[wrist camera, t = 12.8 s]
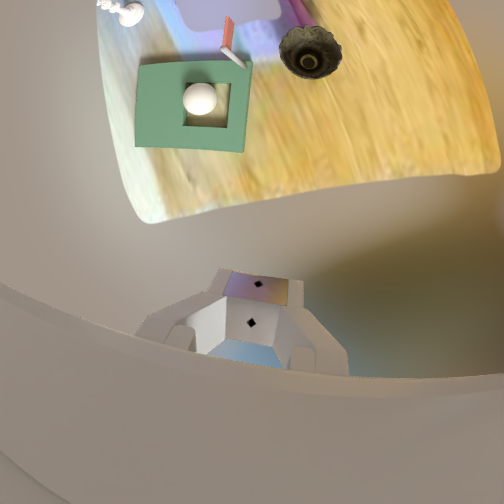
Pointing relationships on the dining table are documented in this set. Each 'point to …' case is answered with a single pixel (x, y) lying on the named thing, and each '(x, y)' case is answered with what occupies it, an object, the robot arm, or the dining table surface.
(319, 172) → the dining table surface
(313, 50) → the scalloped clay bowl
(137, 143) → the putting mat
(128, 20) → the chess piece
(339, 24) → the dining table surface
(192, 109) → the ball
